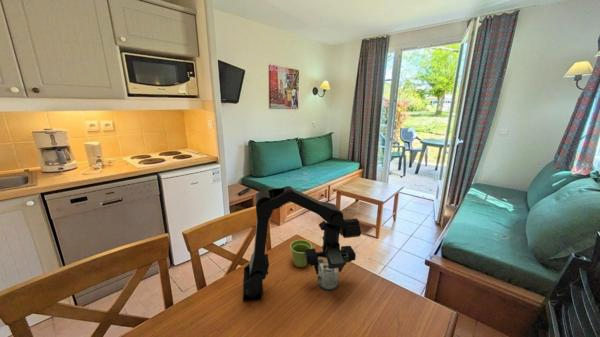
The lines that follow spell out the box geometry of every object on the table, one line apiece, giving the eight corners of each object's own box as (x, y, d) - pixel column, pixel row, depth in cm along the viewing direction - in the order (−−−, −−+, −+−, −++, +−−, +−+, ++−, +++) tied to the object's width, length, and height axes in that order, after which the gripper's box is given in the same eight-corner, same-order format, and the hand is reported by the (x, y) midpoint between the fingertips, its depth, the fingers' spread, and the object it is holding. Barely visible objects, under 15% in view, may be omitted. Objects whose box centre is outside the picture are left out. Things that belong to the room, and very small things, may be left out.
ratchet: (340, 290, 90) (341, 279, 89) (320, 292, 89) (321, 281, 87) (328, 261, 106) (328, 252, 104) (310, 263, 104) (311, 253, 103)
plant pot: (299, 273, 98) (300, 255, 96) (285, 261, 105) (285, 245, 102) (315, 263, 104) (316, 246, 102) (301, 253, 111) (301, 237, 108)
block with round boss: (322, 285, 90) (323, 270, 87) (318, 275, 95) (319, 260, 93) (337, 284, 91) (338, 268, 89) (332, 273, 96) (333, 258, 94)
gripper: (311, 253, 78) (309, 291, 83) (364, 249, 81) (359, 286, 86) (304, 235, 89) (303, 269, 93) (351, 231, 92) (348, 265, 96)
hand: (328, 273), depth 92 cm, fingers open, 9 cm apart
